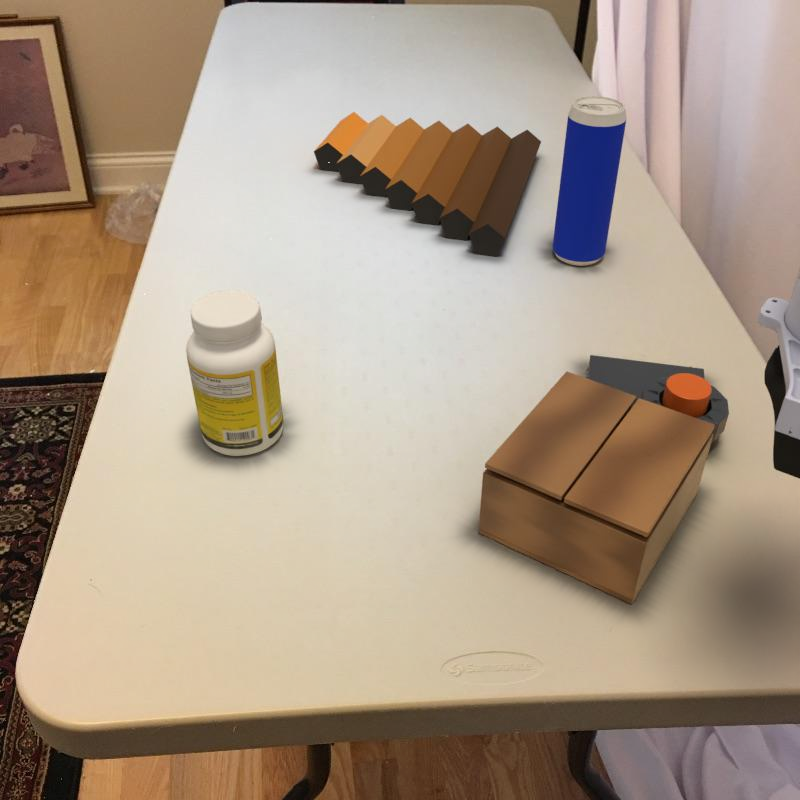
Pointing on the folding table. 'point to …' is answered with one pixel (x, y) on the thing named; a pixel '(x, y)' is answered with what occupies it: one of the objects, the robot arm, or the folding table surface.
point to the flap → (640, 466)
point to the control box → (654, 384)
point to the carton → (555, 476)
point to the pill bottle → (234, 374)
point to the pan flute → (436, 173)
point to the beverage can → (588, 179)
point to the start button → (687, 394)
